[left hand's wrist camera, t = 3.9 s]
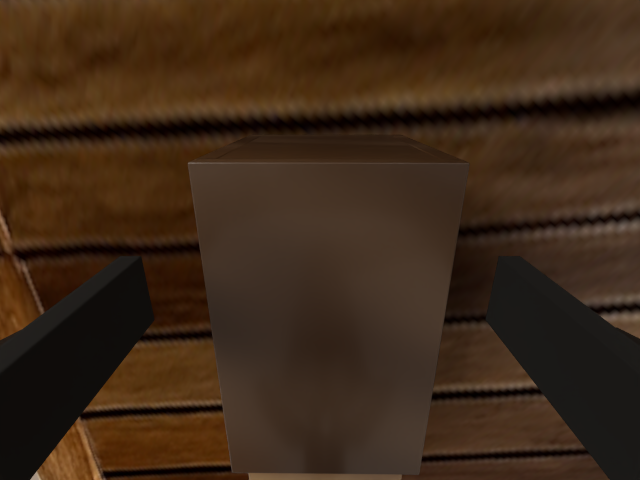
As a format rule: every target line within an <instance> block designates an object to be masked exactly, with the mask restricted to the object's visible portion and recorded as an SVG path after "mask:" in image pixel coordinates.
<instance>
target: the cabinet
mask: <svg viewBox="0 0 640 480" xmlns="http://www.w3.org/2000/svg"><path fill="white" fill-rule="evenodd" d="M188 168H189V175H190V182H191V189H192V196H193V203H194V210H195V217H196V224H197V231H198V238H199V245H200V252H201V259H202V266H203V273H204V280H205V287H206V294H207V301H208V308H209V315H210V321H211V328H212V335H213V342H214V349H215V356H216V363H217V370H218V377H219V384H220V391H221V398H222V405H223V412H224V419H225V426H226V433H227V440H228V447H229V454H230V461H231V468H232V473H298V474H391V475H419V472H420V466H421V459H422V453H423V447H424V441H425V435H426V429H427V422H428V416H429V410H430V404H431V398H432V392H433V385H434V379H435V373H436V367H437V361H438V355H439V348H440V342H441V336H442V330H443V324H444V318H445V311H446V305H447V299H448V293H449V287H450V281H451V274H452V268H453V262H454V256H455V250H456V244H457V237H458V231H459V225H460V219H461V213H462V207H463V200H464V194H465V188H466V182H467V176H468V170H469V163H468V162H466V161H463V160H461V159H458V158H456V157H453V156H451V155H449V154H446V153H444V152H441V151H439V150H436V149H434V148H432V147H429V146H427V145H424V144H422V143H419V142H417V141H415V140H412V139H410V138H407V137H405V136H403V135H250V136H248V137H245V138H243V139H241V140H238V141H236V142H234V143H232V144H229V145H227V146H225V147H222V148H220V149H218V150H216V151H213V152H211V153H209V154H206V155H204V156H202V157H200V158H197V159H195V160H193V161H190V162H188Z"/></svg>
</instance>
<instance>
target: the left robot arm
mask: <svg viewBox="0 0 640 480" xmlns="http://www.w3.org/2000/svg"><path fill="white" fill-rule="evenodd" d="M153 321H154V315H153V311H152V306H151V301H150V296H149V292H148V287H147V282H146V277H145V272H144V268H143V263H142V258H141V256H120V257H119V258H117V259H116V260H115V261H113V262H112V263H111V264H109V265H108V266H107V267H105V268H104V269H103V270H101V271H100V272H99V273H97V274H96V275H94V276H93V277H92V278H90V279H89V280H88V281H86V282H85V283H84V284H82V285H81V286H80V287H78V288H77V289H76V290H74V291H73V292H72V293H70V294H69V295H68V296H66V297H65V298H64V299H62V300H61V301H60V302H58V303H57V304H56V305H54V306H53V307H52V308H50V309H49V310H48V311H46V312H45V313H44V314H42V315H41V316H40V317H38V318H37V319H36V320H34V321H33V322H32V323H30V324H29V325H28V326H26V327H25V328H23V329H22V330H20V331H18V332H16V333H14V334H12V335H10V336H8V337H6V338H4V339H2V340H0V480H30V479H31V478H32V476H33V475H34V474H35V473H36V471H37V470H38V469H39V468H40V466H41V465H42V464H43V462H44V461H45V460H46V459H47V457H48V456H49V455H50V453H51V452H52V451H53V450H54V448H55V447H56V446H57V444H58V443H59V442H60V441H61V439H62V438H63V437H64V435H65V434H66V433H67V432H68V430H69V429H70V428H71V426H72V425H73V424H74V423H75V421H76V420H77V419H78V417H79V416H80V415H81V414H82V412H83V411H84V410H85V408H86V407H87V406H88V405H89V403H90V402H91V401H92V399H93V398H94V397H95V396H96V394H97V393H98V392H99V390H100V389H101V388H102V387H103V385H104V384H105V383H106V381H107V380H108V379H109V378H110V376H111V375H112V374H113V372H114V371H115V370H116V369H117V367H118V366H119V365H120V363H121V362H122V361H123V360H124V358H125V357H126V356H127V354H128V353H129V352H130V351H131V349H132V348H133V347H134V345H135V344H136V343H137V342H138V340H139V339H140V338H141V336H142V335H143V334H144V333H145V331H146V330H147V329H148V327H149V326H150V325H151V324H152V322H153ZM486 321H487V322H488V324H489V325H490V326H491V327H492V329H493V330H494V331H495V333H496V334H497V335H498V336H499V338H500V339H501V340H502V342H503V343H504V344H505V345H506V347H507V348H508V349H509V351H510V352H511V353H512V354H513V356H514V357H515V358H516V360H517V361H518V362H519V363H520V365H521V366H522V367H523V369H524V370H525V371H526V372H527V374H528V375H529V376H530V378H531V379H532V380H533V381H534V383H535V384H536V385H537V387H538V388H539V389H540V390H541V392H542V393H543V394H544V396H545V397H546V398H547V399H548V401H549V402H550V403H551V405H552V406H553V407H554V408H555V410H556V411H557V412H558V414H559V415H560V416H561V417H562V419H563V420H564V421H565V423H566V424H567V425H568V426H569V428H570V429H571V430H572V432H573V433H574V434H575V435H576V437H577V438H578V439H579V441H580V442H581V443H582V444H583V446H584V447H585V448H586V450H587V451H588V452H589V453H590V455H591V456H592V457H593V459H594V460H595V461H596V462H597V464H598V465H599V466H600V468H601V469H602V470H603V471H604V473H605V474H606V475H607V476H608V478H609V479H610V480H640V339H639V338H637V337H635V336H633V335H631V334H629V333H627V332H625V331H623V330H621V329H619V328H615V327H614V326H612V325H611V324H610V323H608V322H607V321H606V320H604V319H603V318H602V317H600V316H599V315H598V314H596V313H595V312H594V311H592V310H591V309H590V308H588V307H587V306H586V305H584V304H583V303H582V302H580V301H579V300H578V299H576V298H575V297H574V296H572V295H571V294H570V293H568V292H567V291H566V290H564V289H563V288H562V287H560V286H559V285H558V284H556V283H555V282H554V281H552V280H551V279H550V278H548V277H547V276H546V275H544V274H543V273H541V272H540V271H539V270H537V269H536V268H535V267H533V266H532V265H531V264H529V263H528V262H527V261H525V260H524V259H523V258H521V257H520V256H499V258H498V263H497V268H496V272H495V277H494V282H493V287H492V292H491V296H490V301H489V306H488V311H487V315H486Z"/></svg>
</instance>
